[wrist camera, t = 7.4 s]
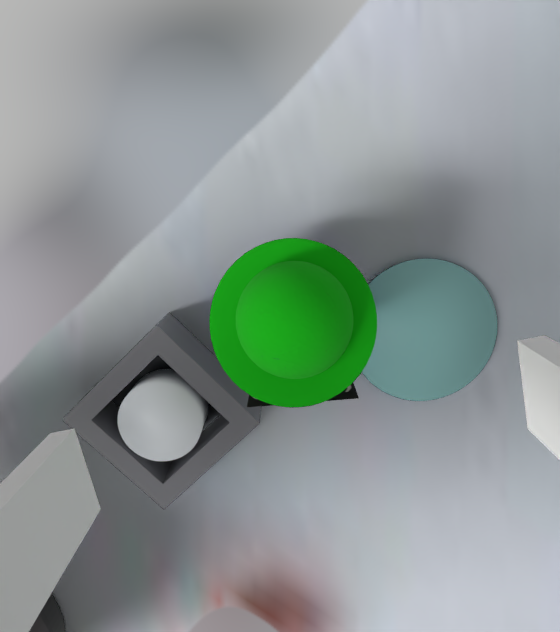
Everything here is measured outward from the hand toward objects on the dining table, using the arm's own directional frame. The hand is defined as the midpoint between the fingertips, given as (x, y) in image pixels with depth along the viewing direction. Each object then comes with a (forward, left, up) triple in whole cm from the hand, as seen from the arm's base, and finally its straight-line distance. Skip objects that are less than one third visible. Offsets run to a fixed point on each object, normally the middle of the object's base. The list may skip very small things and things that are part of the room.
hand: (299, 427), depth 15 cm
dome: (-11, -7, -23) cm, 27 cm away
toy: (0, 0, -25) cm, 25 cm away
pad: (+9, -6, -25) cm, 27 cm away
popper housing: (-11, -7, -25) cm, 28 cm away
